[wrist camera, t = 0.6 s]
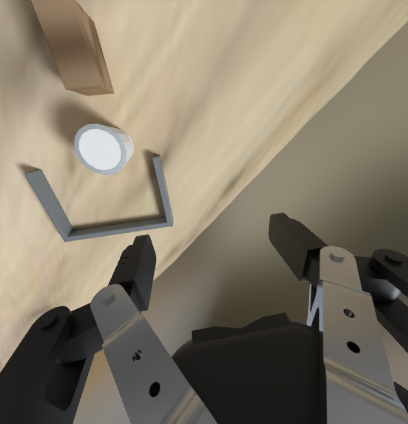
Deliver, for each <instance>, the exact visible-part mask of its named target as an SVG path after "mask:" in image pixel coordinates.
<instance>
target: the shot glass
mask: <svg viewBox="0 0 408 424" xmlns="http://www.w3.org/2000/svg"><path fill="white" fill-rule="evenodd" d="M74 149H75V151H76V154H77V156H78V158H79V160H80V161H81V162H82V163H83V164H84V165H85V166H86V167H87V168H89V169H90V170H92V171H93V172H95V173H99V174H103V175H107V174H114V173H116V172H118V171H119V170H121V169H122V168H123V166H124V165H125V164H126V163H127V161H128V160H129V159H130V157H131V156H132V154H133V150H134V146H133V142H132V140H131V138H130V137H129V135H128V134H127V133H125V132H124V131H123V130H120V129H117V128H114V127H109V126H105V125H101V124H87V125H85V126H84V127H82V128H81V129H79V130H78V132H77V134H76V136H75V138H74Z"/></svg>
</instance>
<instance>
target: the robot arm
mask: <svg viewBox="0 0 408 424" xmlns="http://www.w3.org/2000/svg"><path fill="white" fill-rule="evenodd" d="M269 239H270V241H271V243H272V245H273V246H274V247H275V248H276V250H277V251H278V253H279V254H280V255H281V257H282V258H283V259H284V261H285V262H286V263H287V265H288V266H289V267H290V269H291V270H292V272H293V273H294V274H295V276H296V277H297V278H298V280H299V281H300V282H304V281H309V282H310V283H311V285H310V294H309V310H308V321H307V325H306V324H303V323H300V322H296V321H290V320H289V318H288V317H287V315H286V313H281V314H276V315H271V316H266V317H262V318H260V319H259V320H256V321H255V322H253V323H251V324H249V325H247V326H245V327H243V328H228V327H217V326H215V327H210V328H204V329H200V330H194V331H192V339H191V340H190V341H188V342H186V343H185V344H184V345H182V346H181V347H180V348H179V349H178V350H177V351H176V352H175V353H174V354H173V355H172V357H171V356H170V355H169V353H168V352H167V351H166V349H165V347H164V346H163V344H162V343H161V341H160V340H159V338H158V337H157V335H156V334H155V332H154V331H153V330H152V328H151V327H150V325H149V323H148V322H147V321H146V319H145V318H144V316H143V315H142V313H141V311H145V310H148V307H149V301H150V295H151V289H152V283H153V277H154V271H155V266H156V254H155V250H154V247H153V244H152V241H151V238H150V236H149V235H141V236H136V237H135V240H134V243H133V245H129V246H128V247H127V248H126V249H125V250H124V251H123V252H122V255H121V257H120V260H119V261H118V265H117V266H116V268H115V271H114V273H113V275H112V278H111V280H110V282H109V284H108V286H107V287H105V288H103V289H101V290H100V291H99V292H98V293H97V294H96V295H95V296H94V297H93V299H92V301H91V303H89V304H87V305H85V306H82V307H80V308H78V309H76V310H73V311H70V310H69V309H68V307H66V306H59V307H56V308H53V309H51V310H49V311H48V312H46V313H45V314H43V315H42V316H41V317H39V318H38V319H37V320H36V321H35V322H34V324H33V325H32V326H31V328H30V329H29V331H28V332H27V334H26V335H25V337H24V338H23V340H22V341H21V343H20V344H19V346H18V347H17V349H16V350H15V352H14V353H13V355H12V356H11V358H10V359H9V361H8V362H7V364H6V365H5V367H4V368H3V370H2V371H1V373H0V424H73V421H74V417H75V414H76V411H77V408H78V405H79V401H80V398H81V395H82V392H83V389H84V386H85V382H86V379H87V376H88V373H89V370H90V367H91V364H92V361H93V357H94V354H95V353H97V352H98V351H100V350H102V349H103V350H104V353H105V356H106V358H107V361H108V364H109V366H110V369H111V372H112V374H113V377H114V380H115V382H116V385H117V388H118V390H119V393H120V396H121V398H122V401H123V404H124V406H125V409H126V412H127V415H128V417H129V419H130V423H131V424H408V390H406V389H405V388H403V387H402V386H400V385H399V384H397V383H396V382H394V381H393V379H392V375H391V371H390V367H389V363H388V359H387V356H386V352H385V348H384V344H383V340H382V336H381V332H380V328H379V324H378V321H379V322H380V323H381V324H382V326H383V327H384V328H385V329H386V330H387V331H388V332H389V333H390V334H391V335H392V336H393V337H394V339H395V340H396V341H397V342H398V343H399V344H400V345H401V346H402V347H403V348H404V349H405V351H406V352H407V353H408V306H407V305H405V304H404V303H403V302H402V301H401V300H399V299H398V298H397V296H398V295H399V293H400V292H402V293H403V294H404V295H406V296H407V297H408V257H407V256H405V255H403V254H401V253H399V252H396V251H392V250H387V249H378V250H375V251H374V252H373V254H372V256H371V257H358V256H353V255H352V254H351V253H349V252H348V251H346V250H344V249H342V248H338V247H334V246H328V245H327V244H325V243H324V242H323V241H322V240H321V239H319V238H318V237H317V236H316V235H315V234H314V233H312V232H311V231H310V230H309V229H308V228H306V227H305V226H304V225H303V224H302V223H301V222H299V221H296V220H294V219H290V218H289V217H288V216H287V215H286V214H285V213H278V214H272V215H271V216H270V224H269Z"/></svg>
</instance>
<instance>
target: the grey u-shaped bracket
mask: <svg viewBox="0 0 408 424" xmlns="http://www.w3.org/2000/svg"><path fill="white" fill-rule="evenodd" d="M153 163H154V167H155V171H156V176H157V180H158V184H159V189H160V193H161V197H162V202H163V206H164V210H165V215H166V217H164V218H157V219H150V220H143V221H136V222H129V223H122V224H115V225H108V226H101V227H94V228H87V229H80V230H74V229H73V227H72V225H71V224H70V222H69V220H68V218H67V216H66V214H65V213H64V211H63V209H62V207H61V205H60V203H59V201H58V200H57V198H56V196H55V194H54V192H53V190H52V188H51V187H50V185H49V183H48V181H47V179H46V177H45V175H44V174H43V172H42V170H35V171H32V172H29V173H26V174H24V175H25V176H26V178H27V180H28V181H29V183H30V185H31V186H32V188H33V190H34V191H35V193H36V195H37V196H38V198H39V200H40V202H41V203H42V205H43V207H44V208H45V210H46V212H47V213H48V215H49V217H50V218H51V220H52V222H53V223H54V225H55V227H56V229H57V230H58V232H59V234H60V235H61V237H62V239H63V240H64V242H68V241H74V240H81V239H88V238H95V237H101V236H108V235H115V234H122V233H129V232H135V231H142V230H149V229H156V228H162V227H169V226H173V216H172V211H171V206H170V201H169V197H168V192H167V187H166V182H165V177H164V173H163V168H162V163H161V158H160V155H159V156H154V157H153Z"/></svg>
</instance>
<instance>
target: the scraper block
mask: <svg viewBox="0 0 408 424" xmlns="http://www.w3.org/2000/svg"><path fill="white" fill-rule="evenodd" d="M31 2H32V4H33V7H34V9H35V12H36V14H37V17H38V20H39V22H40V25H41V27H42V30H43V32H44V35H45V38H46V40H47V43H48V45H49V48H50V50H51V53H52V56H53V58H54V61H55V63H56V66H57V68H58V71H59V74H60V76H61V79H62V81H63V84H64V87H65V89H67V90H71V91H74V92H77V93H80V94H83V95H87V96H92V95H102V94H113V93H114V91H113V87H112V84H111V80H110V77H109V73H108V70H107V66H106V63H105V59H104V56H103V52H102V48H101V45H100V41H99V38H98V34H97V31H96V27H95V24H94V22H93V20H92V19H91V18H90V17H89V16H88V15H87V13H86V12H85V11H84V10H83V9H82V7H81V6H80V5H79V4H78V3H77V1H76V0H31Z"/></svg>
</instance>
